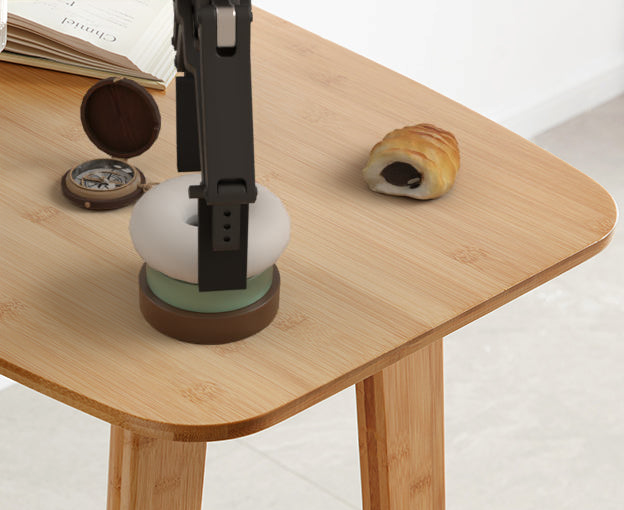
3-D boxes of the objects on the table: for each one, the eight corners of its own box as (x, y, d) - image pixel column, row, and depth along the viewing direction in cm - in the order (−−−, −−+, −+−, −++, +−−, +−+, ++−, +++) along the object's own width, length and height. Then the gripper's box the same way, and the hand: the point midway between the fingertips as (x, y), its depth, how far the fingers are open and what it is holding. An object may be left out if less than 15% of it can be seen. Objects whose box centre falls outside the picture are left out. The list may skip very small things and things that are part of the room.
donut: (272, 308, 66) (303, 218, 74) (274, 259, 64) (306, 172, 72) (108, 283, 68) (156, 197, 75) (105, 235, 65) (154, 152, 73)
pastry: (395, 138, 93) (400, 96, 91) (474, 157, 91) (482, 114, 89) (356, 190, 86) (361, 145, 84) (442, 212, 84) (449, 166, 82)
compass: (47, 205, 82) (39, 113, 77) (89, 155, 88) (83, 67, 84) (153, 223, 80) (150, 131, 76) (188, 171, 87) (187, 83, 82)
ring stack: (135, 266, 76) (133, 215, 74) (268, 259, 78) (270, 208, 75) (144, 349, 69) (142, 295, 67) (290, 339, 71) (292, 286, 68)
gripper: (331, -49, 48) (304, 343, 61) (250, -192, 68) (242, 127, 80) (153, -48, 47) (163, 353, 59) (123, -195, 66) (135, 130, 79)
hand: (208, 224), depth 70 cm, fingers open, 13 cm apart
